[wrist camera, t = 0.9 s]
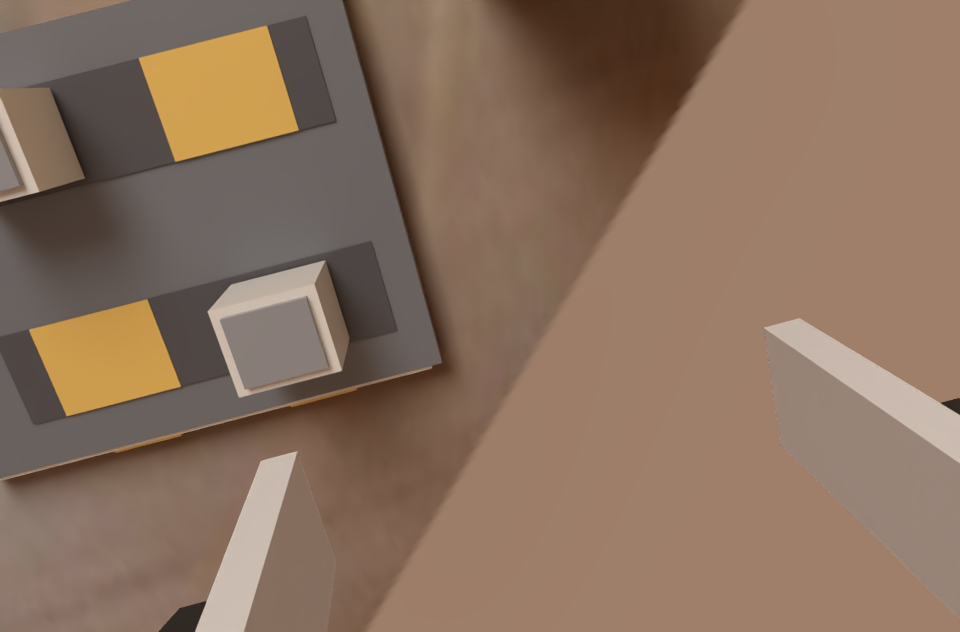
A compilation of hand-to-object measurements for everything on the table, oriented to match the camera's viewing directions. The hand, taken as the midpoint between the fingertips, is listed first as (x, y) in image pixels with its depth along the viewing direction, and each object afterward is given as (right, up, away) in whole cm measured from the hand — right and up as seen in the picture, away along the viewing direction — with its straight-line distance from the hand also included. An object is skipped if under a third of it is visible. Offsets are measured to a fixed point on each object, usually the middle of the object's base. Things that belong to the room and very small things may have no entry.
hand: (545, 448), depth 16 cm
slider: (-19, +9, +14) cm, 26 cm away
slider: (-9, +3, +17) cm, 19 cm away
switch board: (-15, +6, +17) cm, 24 cm away
